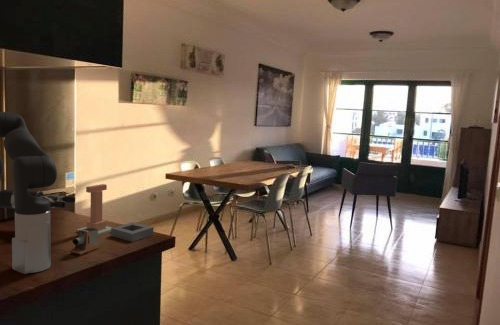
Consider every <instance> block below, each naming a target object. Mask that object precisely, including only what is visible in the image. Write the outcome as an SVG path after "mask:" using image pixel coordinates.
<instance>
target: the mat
mask: <svg viewBox="0 0 500 325" xmlns="http://www.w3.org/2000/svg"><path fill="white" fill-rule="evenodd" d="M111 228H113V227H112V226H107V225H106V229H103V230H99V231H98V237H99V236H103V235H107V234H111ZM82 229H86V226H84V227H80V228H77V229H76V232H77V233H78V232H79V230H82Z"/></svg>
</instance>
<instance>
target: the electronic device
mask: <svg viewBox="0 0 500 325" xmlns="http://www.w3.org/2000/svg"><path fill="white" fill-rule="evenodd" d="M72 244H73V245H74V248H72V249H70V250H69V253H70V255H74V256H78V257H82V256H83V255H84V254H89V253H91V252H94V251H96V250H98V249H99V248H100V241H99V236H98V229H94V228H87V229H82V230H79V232H77V236H76V238H74V239H72Z"/></svg>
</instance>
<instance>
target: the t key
mask: <svg viewBox="0 0 500 325" xmlns="http://www.w3.org/2000/svg"><path fill="white" fill-rule="evenodd" d="M107 186H108V185H107V184H106V183H101V184H95V185H89V186H85V189H86V190H85V192H86V193H89V194H90V215H89V216H90V220H88V221H86V226H85V227H86V229H87V228H94V229H98V231H99V230H103V229H106V226H107V220H103V191H106V190H108V187H107Z"/></svg>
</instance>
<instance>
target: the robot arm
mask: <svg viewBox="0 0 500 325" xmlns="http://www.w3.org/2000/svg"><path fill="white" fill-rule="evenodd" d="M0 138H2V139H3V138H4V139H3V142H2V143H3V148H4V151H5V152H6V154H7V156H8V158H10V160H11V161H12V162H13V163H12V181H13V189H2V190H0V209H14V237H12V238H11V257H12V259H11V260H12V262H11V264H12V265H11V266H12V270H14V271H15V272H18V273H20V274H23V275H27V274H29V273H30V274H34V273H39V272H43V271H45V270H48V269H49V268H51V265H52V264H51V263H52V260H51V259H52V258H51V255H52V254H51V253H52V252H51V251H52V250H51V249H52V248H51V246H52V245H51V209H54V208H59V209H60V208H62V209H63V208H64V209H65V208H66V206H67V203H76V197H75V196H67V194H62V193H61V194H59V193H51V194H46V195H45V194H44V192H43V191H42V190H34V189H38V188H39V189H40V188H48V187H51V186H53V185H54V184H55V183H56V180H57V177H58V170H57V167H56V164H55V162H54V160H53V159H52V157H51V156H50V155H49V154H47V152H45V150H43V149H42V147H41V146H40V145H39V143H38V142H37V140H36V139H35V138H34V136H33V135H32V134H31V133H30V131H29V129H28V126H27V125H26V122H25V119H24V118H23V117H22V115H20V114H19V113H18V114H17V113H12V112H7V111H2V110H1V111H0ZM3 172H4V161H3V158H2V156H1V155H0V180H1V179H2V176H3ZM31 189H32V190H31Z"/></svg>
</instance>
